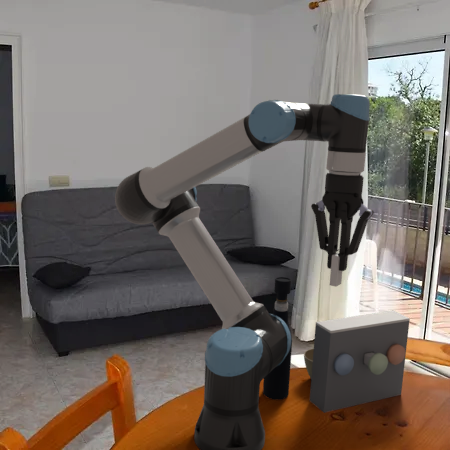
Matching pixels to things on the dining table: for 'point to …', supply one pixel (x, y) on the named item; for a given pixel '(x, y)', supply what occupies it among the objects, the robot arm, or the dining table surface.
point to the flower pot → (309, 360)
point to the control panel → (356, 359)
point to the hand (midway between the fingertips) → (335, 284)
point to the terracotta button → (395, 354)
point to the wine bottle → (280, 375)
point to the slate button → (343, 364)
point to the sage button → (376, 362)
